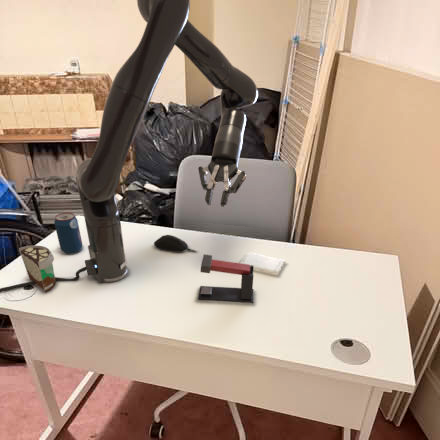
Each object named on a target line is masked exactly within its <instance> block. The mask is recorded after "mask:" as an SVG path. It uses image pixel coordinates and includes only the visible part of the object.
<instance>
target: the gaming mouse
mask: <svg viewBox="0 0 440 440" xmlns="http://www.w3.org/2000/svg"><path fill="white" fill-rule="evenodd" d="M153 245H154V247H155V248H157V249H158V250H162V251H167V252H174V253H183V252H185V251H189V252H193V253H196V250H194V249H192V248H189V246H188V243H187V242H186V241H184V240H183V239H181V238H179V237H177V236H175V235H171V234H165V235H161V236H160V237H159V238H157V239H156V240H155V241H154V242H153Z"/></svg>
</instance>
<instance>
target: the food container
mask: <svg viewBox="0 0 440 440" xmlns="http://www.w3.org/2000/svg"><path fill="white" fill-rule="evenodd" d="M18 252H19V255H20V256H21V258H22V261H23V265H24V268H25V271H26V274H27V276H28V279H29V282H31V281H35V282H36V284H34V285H35V286H36V287H37V288H39V289H40V290H41V291H42V292H44V293H48V292H49V291H51V290H52V289H54V287H55V286H56V283H57V282H56V281H55V277H56V276H55V271H54V264H53V263H54V260H55V256H54V254H53V252H52V251H51V250H50V248H48V247H47V246H43V245H26V246H21V247H19V248H18Z"/></svg>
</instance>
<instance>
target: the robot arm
mask: <svg viewBox="0 0 440 440" xmlns="http://www.w3.org/2000/svg"><path fill="white" fill-rule="evenodd" d="M136 3H137V9H138V12H139V15H140V16H141V17H142V19H143V21H145V22H146V25H145V28H144V31H143V34H142V36H141V39H140V41H139V43H138V44H137V46H136V48H135V50H134V51H133V52H132V53H131V54H130V56H129V57H128V58H127V59H126V60H125V62H124V63H123V64H122V66H121V67H120V68H119V69H118V71H117V72H116V74H115V76H114V78H113V81H112V83H111V86H110V88H109V91H108V94H107V97H106V99H105V103H104V107H103V110H102V111H103V112H102V117H101V124H100V131H99V137H98V140H97V143H96V147H95V148H94V149H95V150H94V151H93V153H92V156H91V157H89V158H86V159H84V160H83V161H81V162H80V163H79V164H78V165H77V168H76V171H75V179H76V185H77V189H78V195H79V200H80V205H81V210H82V214H83V218H84V222H85V226H86V232H87V233H86V234H87V238H88V244H89V245H87V250H88V255H89V259H84V265H85V266H84V267H82V268H80V269H78V270H76V271H75V276H74V277H73V278H65V277H57V276H55V282H56V281H57V282H76V281H78V280H80V278H81V277H80V276H81V275H80V274H81V273H83V272H85V271H86V275H87V277H91V276H92V277H93V276H94V277H95V278H96V279H97V280H98V282H99V283H112V282H117V281H120V280H123V279H124V278H126V276H128V267H127V265H128V260H127V259H126V254H125V246H124V238H123V231H122V223H121V215H120V210H119V207H118V203H117V198H116V192H117V188H118V185H119V181H120V177H121V175H122V171H123V168H124V165H125V161H126V158H127V156H128V153H129V151H130V148H131V146H132V144H133V142H134V140H135V138H136V135H137V133H138V130H139V128H140V126H141V124H142V121H143V119H144V118H145V115H146V113H147V110H148V107H149V105H150V102H151V100H152V97H153V94H154V92H155V89H156V87H157V85H158V82H159V80H160V78H161V75H162V73H163V70H164V68H165V66H166V64H167V61H168V59H169V56H170V54H171V53H172V51H173V50H174V47H177V48H178V49H179V51H181V52H182V53H183V54H184V56H186V58H188V59H189V60H190V62H191V63H192V64H193V65H194V66H195V67H196V68H197V70H198V71H199V72H200V73H201V74H202V76H204V77H205V79H207V80H208V82H210V84H211V85H212V86H213V87H214V88H216V89H217V90H221V91H220V96H219V100H220V115H221V116H220V117H221V118H220V120H219V121H220V122H219V126H218V129H217V133H216V135H215V140H214V145H213V149H212V152H211V153H212V154H211V158H210V162H209V163H208V165H207V166H204V167H203V166H198V168H197V169H198V174H199V181H200V185H201V187H202V189H203V190H204V191H206V193H205V197H204V200H205V201H204V202H205V203H206V205H207V206H211V204H212V200H213V196H214V190H215V188H216V187H217V185H218V184H219V183H223V185H224V187H223V189H224V190H223V191H222V194H221V198H220V206H221V207H222V208H223V207H225V206H227V204H228V201H229V197H230V194H236V193H237V192H238V191H239V189H240V188H241V186H242V185H243V184H244V182H245V180H246V179H247V174H246V171H245V170H240V169H239V162H240V157H241V152H242V148H243V141H244V132H245V127H246V124H247V123H246V122H247V117H246V116H247V115H246V114H245V112H244V111H242V110H241V109H243V108H247V107H250V106H252V105H254V104H255V103H256V102H257V99H258V97H259V91H258V87H257V85H256V83H255V81H254V79H253V78H251V76H249V75H248V74H247V73H245V72H244V71H242V70H241V69H239V68H238V67H236V66H234V65H233V64H232V63H231V62H230V59H228V58H227V56H226V55H225V54H224V53H223V52H222V51H221V49H219V47H218V46H217V45H216V44H215V43H214V42H212V41H211V40H210V39H209V38H208V37H207V36H206V35H204V34H203V33H202V32H201V31H200V30H199V29H197V27H195V25H194V24H192V22H191V21H189V16H190V11H191V10H190V9H191V1H190V0H136ZM208 172H209V173H210V177H209V181H208V183H207V179H206V177H207V176H208ZM235 176H236V179H235V180H234V181H233V183H232V185H231V180H233V178H234V177H235ZM35 284H36V282H35V281H26V282H22V283H18V284H12V285H9V286H5V287H1V288H0V293H1V292H7V291H10V290H11V291H12V290H16V289H19V288H20V289H21V288H25V287H28V286H32V285H33V286H34V285H35Z"/></svg>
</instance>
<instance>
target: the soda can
mask: <svg viewBox="0 0 440 440" xmlns="http://www.w3.org/2000/svg"><path fill="white" fill-rule="evenodd" d="M53 224H54V228H55V232H56V235H57V241H58V244H59V249H60V250H61V252H62V253H64V254H67V255H75V254H78V253H80V252H81V251H82V248H83V245H84V244H83V241H82V240H83V239H82V235H81V231H80V226H79V221H78V218H77V217H76V216H75V214H74V213H72V212H61V213H58V214H56V215H55V216H54V223H53Z"/></svg>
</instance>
